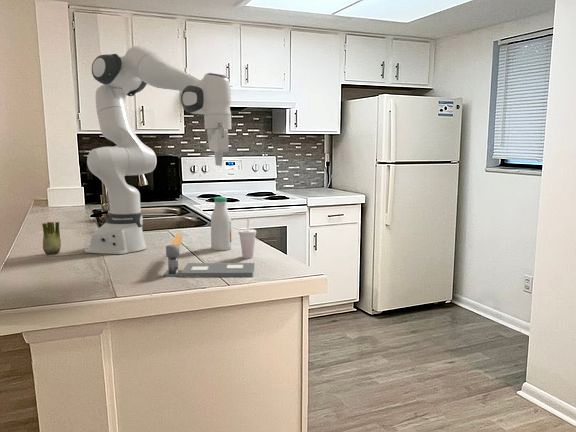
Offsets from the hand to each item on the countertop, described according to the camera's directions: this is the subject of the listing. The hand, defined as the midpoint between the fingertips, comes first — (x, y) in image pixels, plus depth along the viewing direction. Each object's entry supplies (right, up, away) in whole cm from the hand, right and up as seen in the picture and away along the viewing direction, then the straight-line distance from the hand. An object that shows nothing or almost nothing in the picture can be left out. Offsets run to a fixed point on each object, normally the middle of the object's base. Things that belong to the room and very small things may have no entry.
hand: (218, 165), depth 170 cm
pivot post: (-13, -35, -11) cm, 39 cm away
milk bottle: (-2, -30, +25) cm, 39 cm away
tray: (+1, -35, -8) cm, 36 cm away
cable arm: (-14, -28, -2) cm, 31 cm away
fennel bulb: (-63, -31, +16) cm, 72 cm away
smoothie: (+9, -32, +11) cm, 35 cm away
